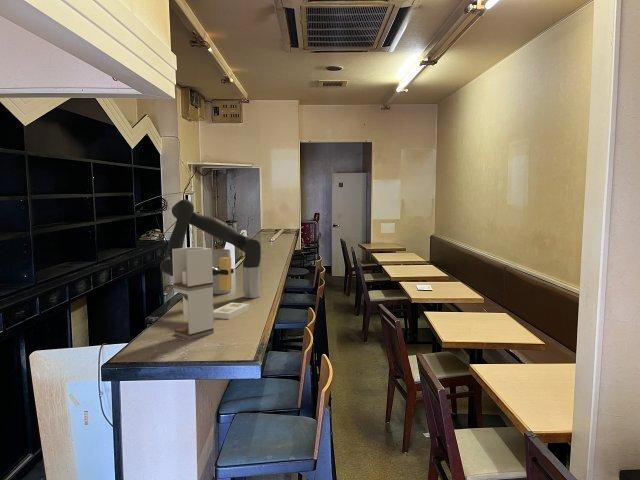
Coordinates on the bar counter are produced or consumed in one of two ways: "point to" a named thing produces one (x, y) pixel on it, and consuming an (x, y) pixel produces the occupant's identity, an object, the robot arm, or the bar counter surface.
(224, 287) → the plug
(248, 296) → the robot arm
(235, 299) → the bar counter surface
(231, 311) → the white socket board
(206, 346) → the bar counter surface
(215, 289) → the cylinder vase
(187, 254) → the white tower
